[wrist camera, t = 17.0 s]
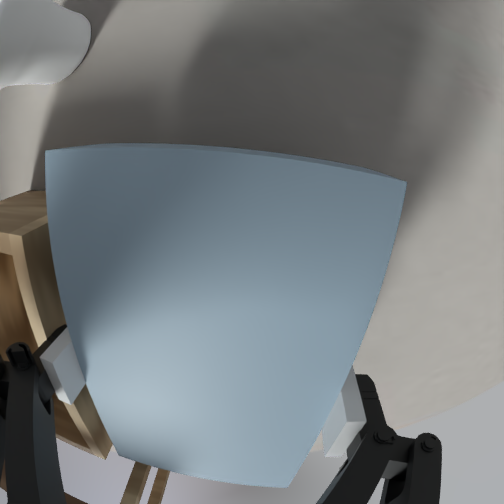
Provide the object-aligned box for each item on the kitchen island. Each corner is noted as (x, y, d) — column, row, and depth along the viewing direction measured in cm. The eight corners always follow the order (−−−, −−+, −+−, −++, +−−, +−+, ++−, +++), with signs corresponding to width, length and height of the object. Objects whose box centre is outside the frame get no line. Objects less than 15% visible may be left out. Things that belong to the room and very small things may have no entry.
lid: (105, 143, 11) (45, 150, 7) (365, 168, 11) (407, 182, 7) (137, 414, 18) (119, 455, 14) (287, 440, 17) (287, 487, 13)
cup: (25, 29, 11) (-65, 15, 2) (120, -18, 11) (31, -79, 1) (19, 128, 15) (-86, 147, 5) (113, 93, 14) (-18, 78, 5)
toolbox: (5, 189, 17) (-109, 242, 5) (162, 197, 16) (0, 307, 5) (66, 405, 26) (24, 475, 15) (178, 442, 26) (152, 534, 15)
